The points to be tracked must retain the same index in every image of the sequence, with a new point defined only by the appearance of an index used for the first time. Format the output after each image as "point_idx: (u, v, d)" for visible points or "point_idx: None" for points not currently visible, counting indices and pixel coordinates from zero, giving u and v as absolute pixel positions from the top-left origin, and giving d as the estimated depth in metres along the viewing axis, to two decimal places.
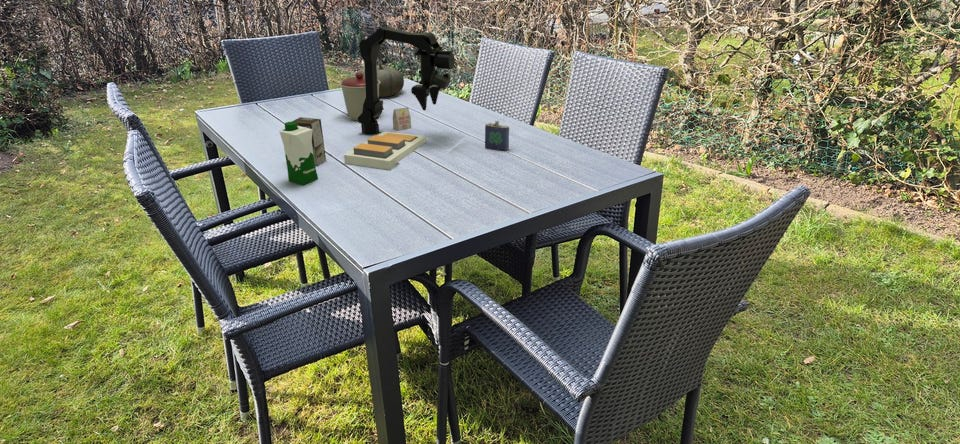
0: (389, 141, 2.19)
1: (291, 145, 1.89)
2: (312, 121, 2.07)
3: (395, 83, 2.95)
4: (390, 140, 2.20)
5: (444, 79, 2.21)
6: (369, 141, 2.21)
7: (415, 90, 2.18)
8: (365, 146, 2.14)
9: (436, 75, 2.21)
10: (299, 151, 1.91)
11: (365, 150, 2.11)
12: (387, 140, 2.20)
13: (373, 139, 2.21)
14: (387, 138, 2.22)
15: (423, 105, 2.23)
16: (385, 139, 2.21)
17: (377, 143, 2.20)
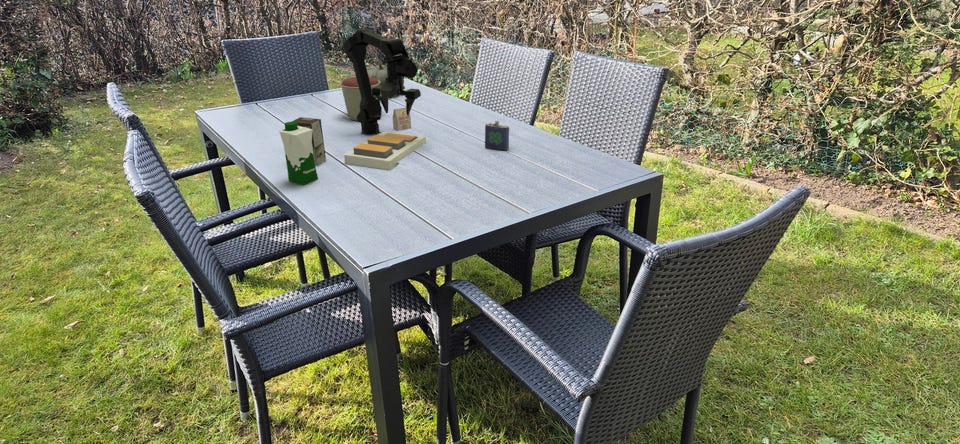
0: (389, 141, 2.19)
1: (291, 145, 1.89)
2: (312, 121, 2.07)
3: None
4: (390, 140, 2.20)
5: (384, 88, 2.15)
6: (369, 141, 2.21)
7: None
8: (365, 146, 2.14)
9: (389, 83, 2.17)
10: (299, 152, 1.91)
11: (365, 150, 2.11)
12: (387, 140, 2.20)
13: (373, 139, 2.21)
14: (387, 138, 2.22)
15: None
16: (385, 139, 2.21)
17: (377, 143, 2.20)
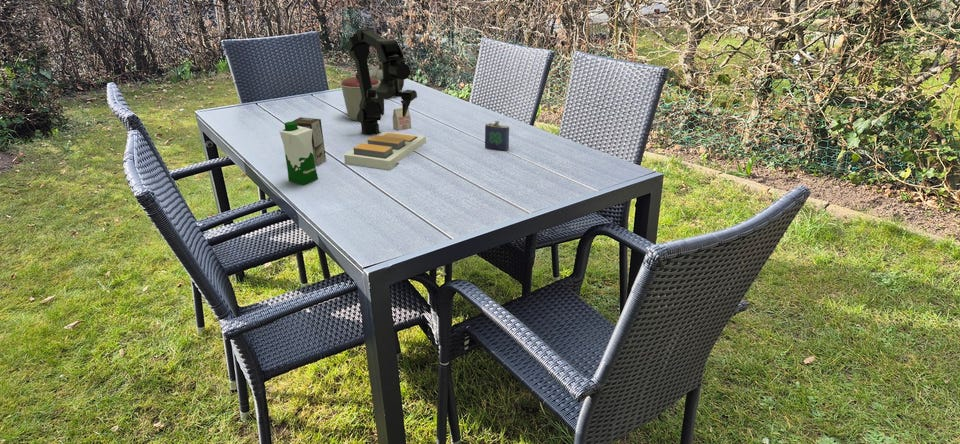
0: (389, 141, 2.19)
1: (291, 145, 1.89)
2: (312, 121, 2.07)
3: None
4: (390, 140, 2.20)
5: (380, 89, 2.12)
6: (369, 141, 2.21)
7: None
8: (365, 146, 2.14)
9: (384, 84, 2.14)
10: (299, 152, 1.91)
11: (365, 150, 2.11)
12: (387, 140, 2.20)
13: (373, 139, 2.21)
14: (387, 138, 2.22)
15: None
16: (385, 139, 2.21)
17: (377, 143, 2.20)
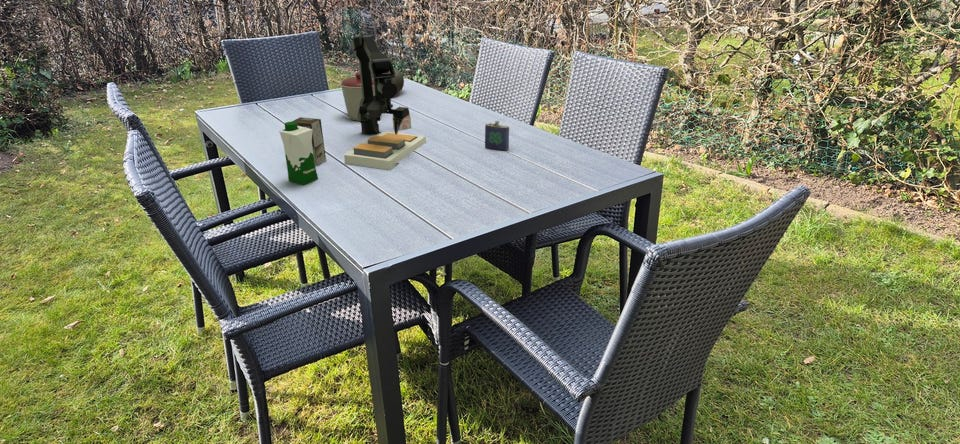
0: (389, 141, 2.19)
1: (291, 145, 1.89)
2: (312, 121, 2.07)
3: (395, 83, 2.95)
4: (390, 140, 2.20)
5: (371, 107, 2.09)
6: (369, 141, 2.21)
7: None
8: (365, 146, 2.14)
9: (376, 101, 2.11)
10: (299, 152, 1.91)
11: (365, 150, 2.11)
12: (387, 140, 2.20)
13: (373, 139, 2.21)
14: (387, 138, 2.22)
15: None
16: (385, 139, 2.21)
17: (377, 143, 2.20)
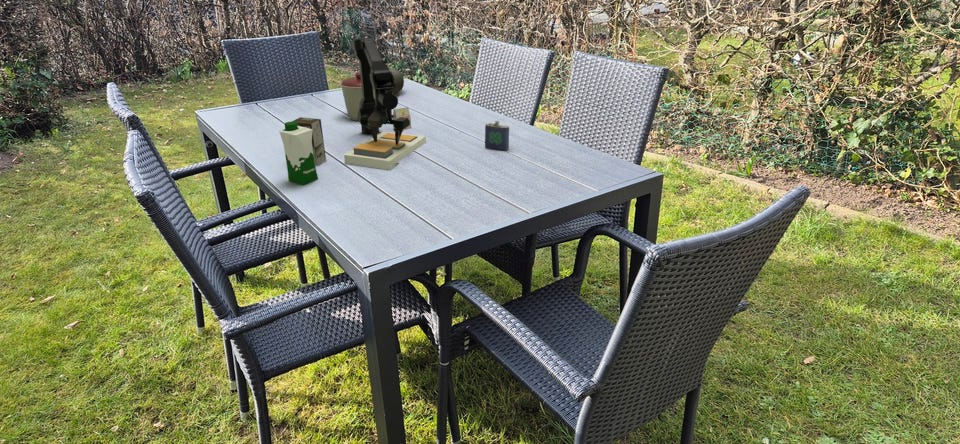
0: (389, 145, 2.19)
1: (291, 145, 1.89)
2: (312, 121, 2.07)
3: None
4: (390, 144, 2.20)
5: (372, 118, 2.11)
6: None
7: None
8: (365, 146, 2.14)
9: (377, 112, 2.13)
10: (299, 152, 1.91)
11: (365, 150, 2.11)
12: (387, 144, 2.20)
13: (373, 143, 2.22)
14: (387, 142, 2.23)
15: None
16: (386, 143, 2.22)
17: None
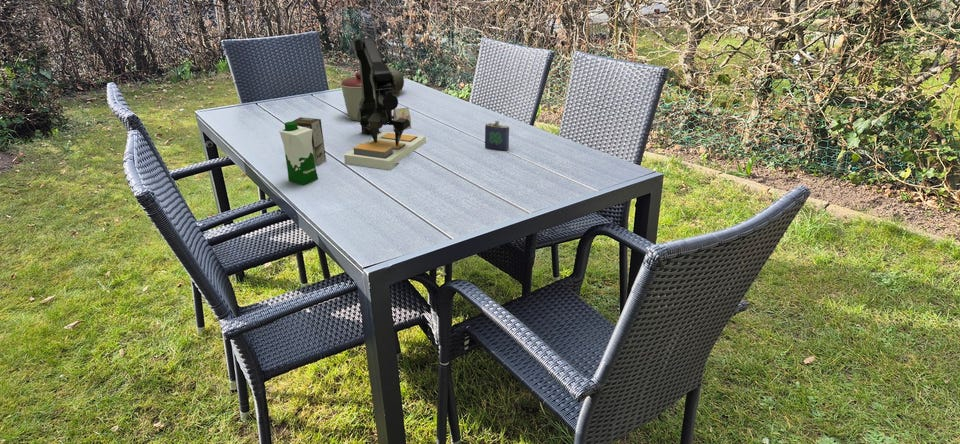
0: (389, 146, 2.20)
1: (291, 145, 1.89)
2: (312, 121, 2.07)
3: None
4: (390, 145, 2.21)
5: (372, 119, 2.11)
6: None
7: None
8: (365, 146, 2.14)
9: (377, 113, 2.13)
10: (299, 152, 1.91)
11: (365, 150, 2.11)
12: (387, 145, 2.21)
13: (373, 144, 2.22)
14: (387, 143, 2.23)
15: None
16: (386, 143, 2.22)
17: None
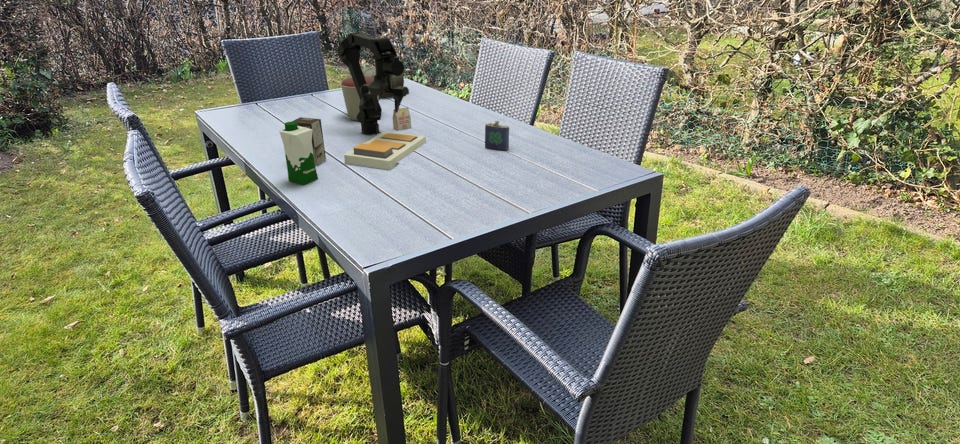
0: (389, 146, 2.20)
1: (291, 145, 1.89)
2: (312, 121, 2.07)
3: (395, 83, 2.95)
4: (390, 145, 2.21)
5: (373, 85, 2.19)
6: None
7: None
8: (365, 146, 2.14)
9: (377, 80, 2.21)
10: (299, 152, 1.91)
11: (365, 150, 2.11)
12: (387, 145, 2.21)
13: (373, 144, 2.22)
14: (387, 143, 2.23)
15: None
16: (386, 143, 2.22)
17: None
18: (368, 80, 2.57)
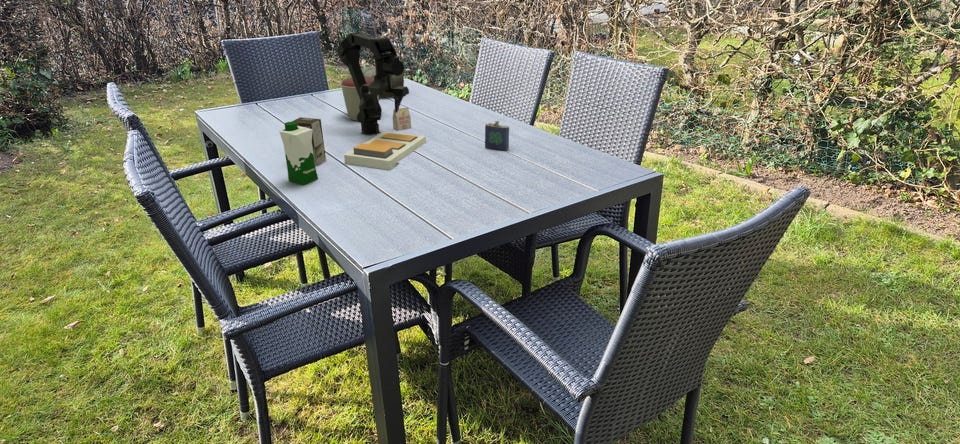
0: (389, 146, 2.20)
1: (291, 145, 1.89)
2: (312, 121, 2.07)
3: (395, 83, 2.95)
4: (390, 145, 2.21)
5: (373, 85, 2.19)
6: None
7: None
8: (365, 146, 2.14)
9: (377, 80, 2.21)
10: (299, 152, 1.91)
11: (365, 150, 2.11)
12: (387, 145, 2.21)
13: (373, 144, 2.22)
14: (387, 143, 2.23)
15: None
16: (386, 143, 2.22)
17: None
18: (368, 80, 2.57)
